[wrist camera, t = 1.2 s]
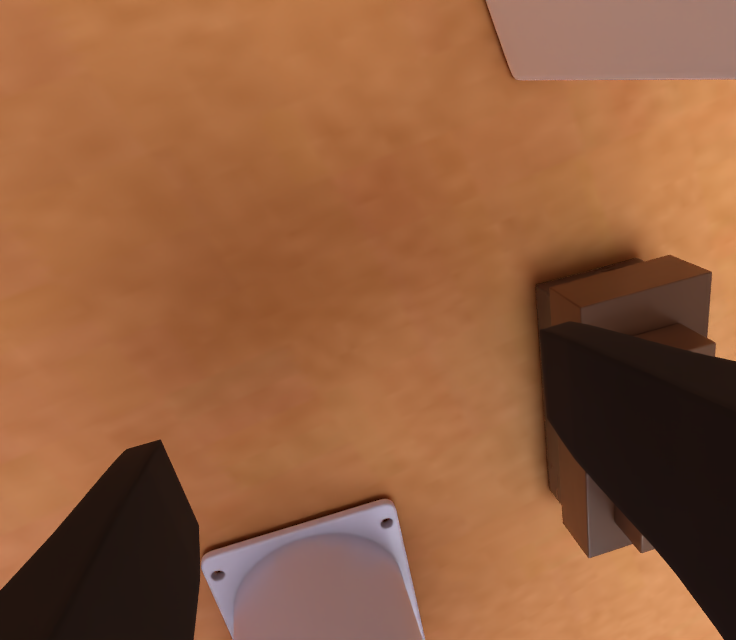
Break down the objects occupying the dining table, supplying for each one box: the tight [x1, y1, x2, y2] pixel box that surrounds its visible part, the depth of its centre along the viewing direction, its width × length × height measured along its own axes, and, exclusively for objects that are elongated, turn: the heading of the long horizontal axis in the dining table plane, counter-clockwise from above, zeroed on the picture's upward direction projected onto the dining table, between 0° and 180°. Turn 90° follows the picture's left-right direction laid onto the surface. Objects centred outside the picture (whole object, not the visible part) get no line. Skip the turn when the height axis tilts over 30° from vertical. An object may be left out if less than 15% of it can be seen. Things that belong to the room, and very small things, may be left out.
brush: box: [536, 255, 716, 558], centre depth 21 cm, size 11×5×5 cm, turn 11°
